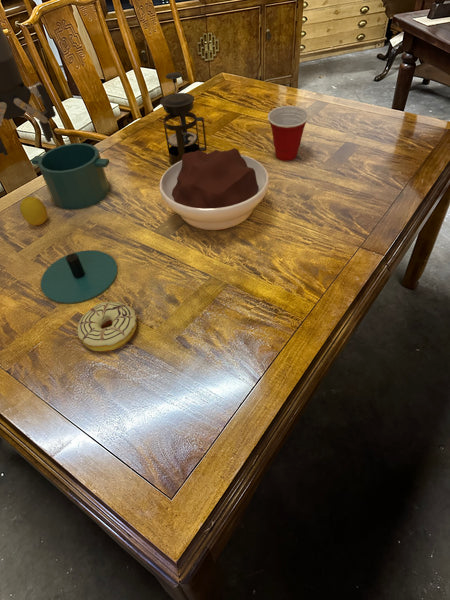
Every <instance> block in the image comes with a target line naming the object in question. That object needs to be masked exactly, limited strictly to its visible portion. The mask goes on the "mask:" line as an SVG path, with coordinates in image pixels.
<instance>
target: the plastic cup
mask: <svg viewBox="0 0 450 600" xmlns="http://www.w3.org/2000/svg"><path fill="white" fill-rule="evenodd" d="M309 118H310V115H309V112H308V111H307V110H306V109H305V108H302V107H301V106H296V105H282V106H278V107H275V108H273V109H271V110H270V111H269V112H268V114H267V120H268V122H269V124H270V128H271V133H272V141H273V147H274V152H275V156H276V159H277V160H279V161H282V162H290V161H293V160H296V158H297V156H298V153H299V148H300V146H301V142H302V139H303V133H304V130H305V127H306V124H307V122H308V120H309Z"/></svg>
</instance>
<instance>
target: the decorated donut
mask: <svg viewBox="0 0 450 600" xmlns="http://www.w3.org/2000/svg"><path fill="white" fill-rule="evenodd" d="M137 318H138V317H137V316H136V311H135V310H134V308H132V307H131V306H129V305H128V304H126V303H123V302H120V301H103V302H100V303H98V304H96V305H94V306H93V307H92V308H90V309H89V310H88V311H87V312H85V313H84V314H83V315H82V317H81V318H80V320H79V322H78V325H77V336H78V338H79V341H80V342H81V343H82V344H83V345H84V347H86V348H88V349H89V350H91V351H94V352H111V351H116V350H117V349H120V348H122V347H124V346H125V345H126V344H127V343H129V341H131V339H132V338H133V336H134V334H135V331H136V330H137V325H138V324H137ZM108 325H110V326H108Z"/></svg>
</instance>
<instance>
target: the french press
mask: <svg viewBox="0 0 450 600" xmlns="http://www.w3.org/2000/svg"><path fill="white" fill-rule="evenodd" d="M182 77H183V74H182V73H181V72H177V71H175V72H169V73H167V74H166V75H165V78H166V79H168V80H172V83H173V84H174V92H175V93H170V94H167V95H164V96H163V97H161V99H160V100H159V104H160V105H161V106H162V108H163V110H164V112H165V113H166V115H165V116H164V117H163V119H162V121H163V128H164V135H165V141H166V146H167V152H168V158H169V159H168V162H169V165H171V166H173V165H174V164H176V163H177V162H179V161H181V160H182V156H183V154H186V153H189V152H195V151H202V152H206V151H207V148H208V147H207V137H206V135H207V134H206V128H205V127H206V126H205V118H204V116H197V115H196V114H195V113H193V112H191V111H192V110H193V109H194V108H195V107H194V102H195V96H194V95H192V94H190V93H186V92H178V89H177V79H180V78H182ZM186 117H188V118H191V119H194V120H193V121H191V122H189V123H187V119H186ZM175 118H178V120H179V121H178V122H179V125H173V124H169V123H167V122H168V121H170V120H172V119H175ZM198 122H201V123H202V133H203V134H202V135H203V142H204V146H200V138H199V128H198ZM193 127H195V129H196V130H195V131H196V133H194V132H191V131H188V130H189V129H190V130H191V129H192V128H193ZM168 131H174V132H175V133H172V134H171V135H168Z"/></svg>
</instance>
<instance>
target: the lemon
mask: <svg viewBox="0 0 450 600" xmlns="http://www.w3.org/2000/svg"><path fill="white" fill-rule="evenodd" d="M19 209H20V213H21V214H20V215H21V216H22V218H23V219H24V220H25V222H26V223H28V224H29V225H32V226H40V225H42V224H44V223H45V222H46V221H47V218H48V211H47V207H46V206H45V204H44V203H43V202H42V200H41V199H40V198H38V197H35V196H28V195H27V196H25V197H24V198H23V199H22V200H21V202H20V204H19Z"/></svg>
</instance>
